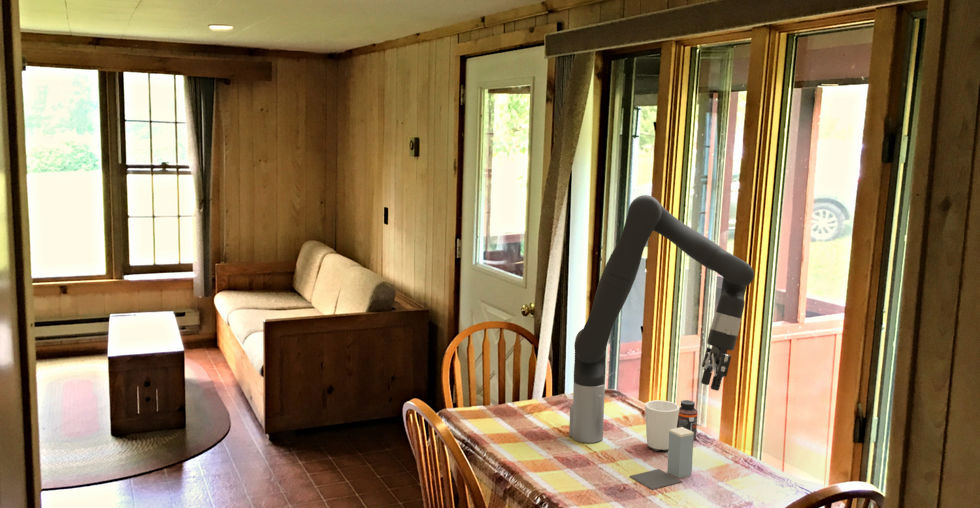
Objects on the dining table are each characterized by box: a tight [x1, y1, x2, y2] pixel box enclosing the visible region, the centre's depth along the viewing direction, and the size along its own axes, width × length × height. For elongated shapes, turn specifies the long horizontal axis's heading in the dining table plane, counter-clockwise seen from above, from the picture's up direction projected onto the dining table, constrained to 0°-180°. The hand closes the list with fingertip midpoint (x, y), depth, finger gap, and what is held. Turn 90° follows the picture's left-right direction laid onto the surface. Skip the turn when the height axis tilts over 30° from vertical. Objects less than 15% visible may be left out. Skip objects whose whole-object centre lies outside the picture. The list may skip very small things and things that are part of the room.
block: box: [666, 427, 694, 479], centre depth 218 cm, size 4×4×12 cm
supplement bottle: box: [677, 399, 698, 441], centre depth 243 cm, size 6×6×11 cm
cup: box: [644, 399, 680, 453], centre depth 236 cm, size 10×10×13 cm
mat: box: [629, 468, 683, 491], centre depth 214 cm, size 9×10×1 cm
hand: (709, 387), depth 228 cm, fingers open, 8 cm apart
